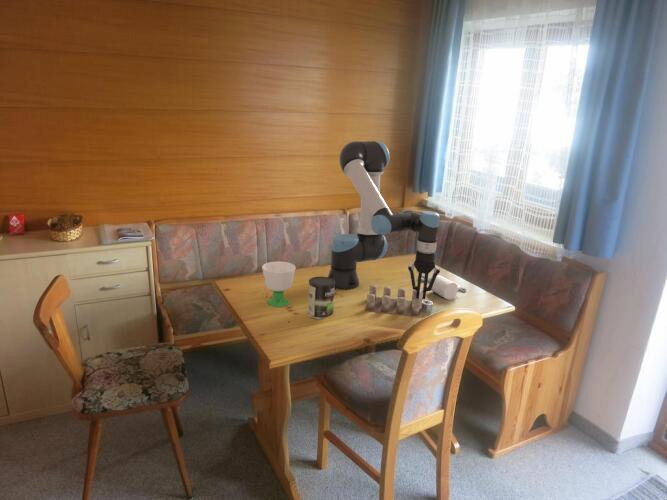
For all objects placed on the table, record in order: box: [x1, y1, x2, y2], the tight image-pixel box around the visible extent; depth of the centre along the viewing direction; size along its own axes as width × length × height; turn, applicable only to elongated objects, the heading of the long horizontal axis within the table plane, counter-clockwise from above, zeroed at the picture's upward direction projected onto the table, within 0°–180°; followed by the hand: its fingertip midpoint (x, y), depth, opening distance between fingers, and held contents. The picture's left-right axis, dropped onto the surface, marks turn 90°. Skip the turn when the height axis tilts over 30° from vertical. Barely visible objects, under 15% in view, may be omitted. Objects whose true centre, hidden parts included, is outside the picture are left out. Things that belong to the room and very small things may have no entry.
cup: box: [261, 260, 297, 308], centre depth 199 cm, size 14×14×16 cm
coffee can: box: [307, 276, 336, 320], centre depth 191 cm, size 10×10×14 cm
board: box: [364, 284, 421, 318], centre depth 200 cm, size 22×16×7 cm
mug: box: [431, 274, 461, 300], centre depth 217 cm, size 12×10×8 cm
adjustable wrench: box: [421, 274, 467, 293], centre depth 230 cm, size 25×6×2 cm, turn 46°
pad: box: [426, 307, 442, 317], centre depth 199 cm, size 8×7×1 cm
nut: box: [420, 299, 434, 314], centre depth 198 cm, size 4×5×4 cm
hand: (419, 305), depth 199 cm, fingers closed
